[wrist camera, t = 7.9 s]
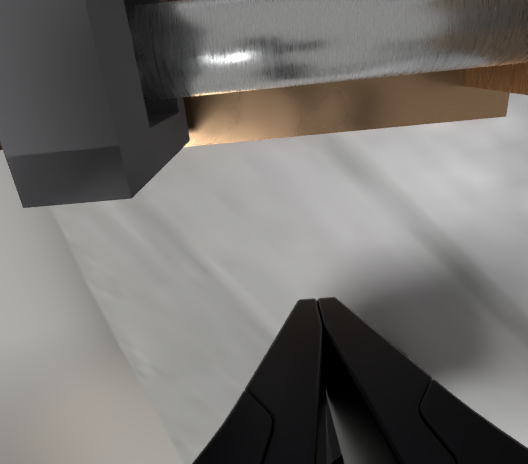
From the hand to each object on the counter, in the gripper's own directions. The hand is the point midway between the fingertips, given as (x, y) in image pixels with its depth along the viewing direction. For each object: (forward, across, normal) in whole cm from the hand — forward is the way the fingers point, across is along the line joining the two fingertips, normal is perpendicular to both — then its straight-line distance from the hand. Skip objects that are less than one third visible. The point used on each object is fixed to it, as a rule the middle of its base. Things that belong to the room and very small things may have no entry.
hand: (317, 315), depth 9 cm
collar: (+11, +6, -6) cm, 14 cm away
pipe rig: (+12, +1, -6) cm, 14 cm away
